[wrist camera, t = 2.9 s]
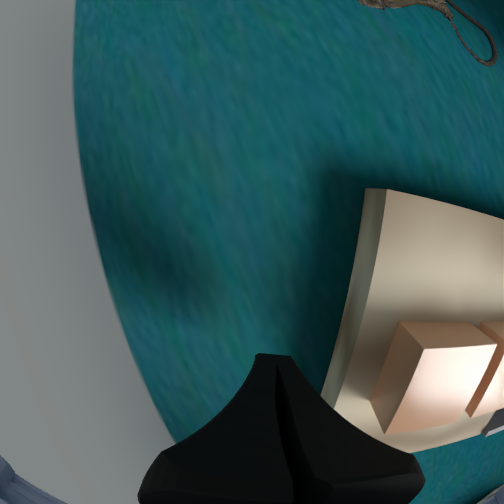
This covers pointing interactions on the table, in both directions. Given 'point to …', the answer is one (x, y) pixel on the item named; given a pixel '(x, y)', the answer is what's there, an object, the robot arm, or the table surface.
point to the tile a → (429, 374)
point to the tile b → (490, 375)
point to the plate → (412, 299)
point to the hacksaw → (438, 3)
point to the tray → (495, 423)
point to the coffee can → (490, 494)
